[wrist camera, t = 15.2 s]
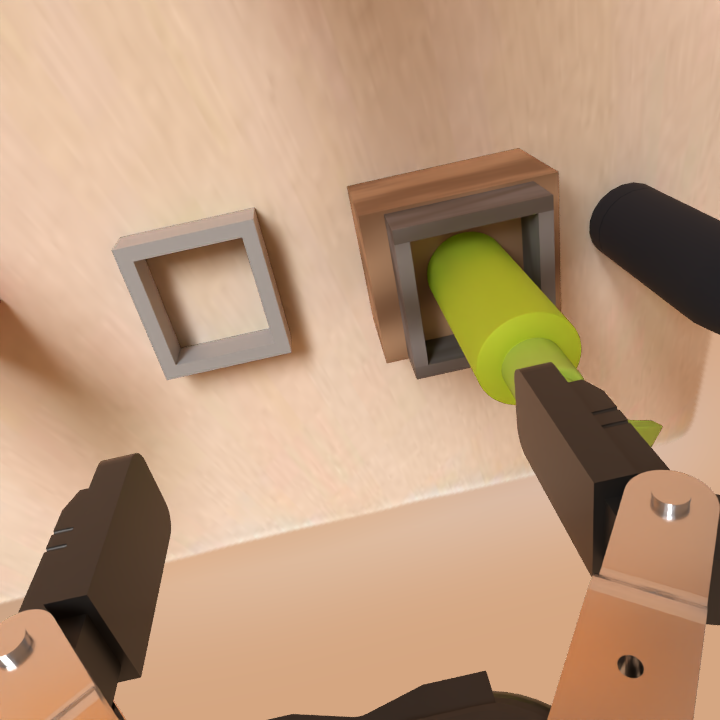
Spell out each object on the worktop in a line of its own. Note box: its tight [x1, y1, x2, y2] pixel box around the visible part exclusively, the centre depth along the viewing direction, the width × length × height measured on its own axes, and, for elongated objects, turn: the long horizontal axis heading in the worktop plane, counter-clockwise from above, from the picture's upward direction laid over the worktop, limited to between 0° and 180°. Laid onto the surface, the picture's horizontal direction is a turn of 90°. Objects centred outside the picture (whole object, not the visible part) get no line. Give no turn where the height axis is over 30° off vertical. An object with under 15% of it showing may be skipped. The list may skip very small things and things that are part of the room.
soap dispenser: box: [427, 232, 663, 447], centre depth 36 cm, size 6×7×20 cm
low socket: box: [112, 208, 292, 380], centre depth 50 cm, size 12×11×3 cm
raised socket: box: [347, 148, 561, 379], centre depth 46 cm, size 12×14×12 cm
